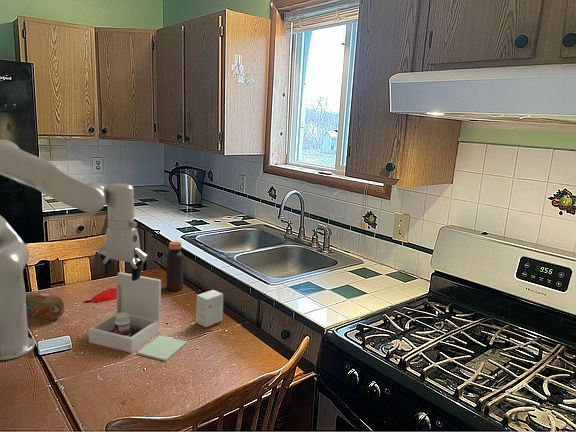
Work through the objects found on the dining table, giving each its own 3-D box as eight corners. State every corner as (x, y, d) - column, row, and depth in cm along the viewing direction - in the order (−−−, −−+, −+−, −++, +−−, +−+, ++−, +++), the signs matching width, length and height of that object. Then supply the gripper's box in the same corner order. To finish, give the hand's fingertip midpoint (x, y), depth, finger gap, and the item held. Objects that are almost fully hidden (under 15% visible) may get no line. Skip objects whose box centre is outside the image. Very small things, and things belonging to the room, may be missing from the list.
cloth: (140, 284, 190) (140, 279, 189) (152, 295, 179) (152, 290, 179) (75, 296, 174) (75, 290, 174) (84, 308, 163) (84, 302, 163)
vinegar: (178, 284, 191) (179, 240, 187) (185, 289, 186) (186, 243, 182) (163, 287, 187) (163, 241, 183) (170, 292, 182) (171, 245, 178)
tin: (22, 315, 153) (21, 292, 152) (30, 311, 156) (28, 289, 155) (59, 322, 150) (58, 299, 148) (66, 318, 153) (65, 296, 151)
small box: (212, 316, 162) (213, 289, 160) (223, 320, 159) (223, 293, 157) (195, 322, 156) (196, 294, 154) (205, 327, 153) (206, 299, 151)
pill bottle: (114, 336, 143) (114, 312, 141) (130, 334, 145) (130, 311, 143) (114, 343, 139) (114, 318, 137) (130, 341, 140) (130, 317, 139)
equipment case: (131, 352, 134) (131, 295, 130) (88, 342, 138) (87, 286, 135) (160, 331, 148) (160, 279, 144) (120, 322, 153) (120, 272, 149)
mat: (166, 361, 130) (166, 359, 130) (137, 354, 133) (137, 352, 133) (187, 343, 141) (187, 341, 141) (160, 337, 144) (160, 335, 144)
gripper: (153, 225, 135) (153, 277, 139) (105, 218, 140) (107, 269, 144) (138, 230, 128) (139, 285, 132) (89, 223, 133) (91, 276, 137)
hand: (122, 277), depth 138 cm, fingers open, 9 cm apart
